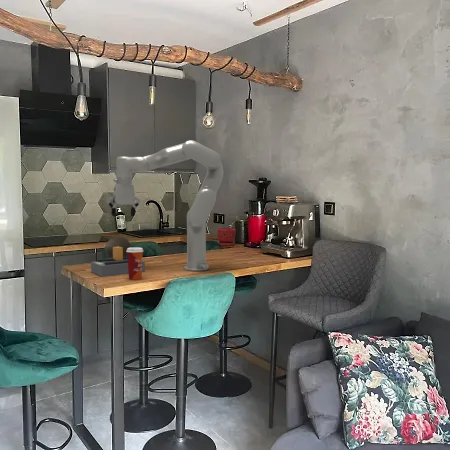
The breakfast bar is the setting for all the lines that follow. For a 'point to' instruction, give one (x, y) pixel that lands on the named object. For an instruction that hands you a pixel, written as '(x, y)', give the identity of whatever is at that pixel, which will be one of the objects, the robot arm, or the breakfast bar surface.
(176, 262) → the breakfast bar surface
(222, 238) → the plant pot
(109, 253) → the cantaloupe
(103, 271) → the grey open box
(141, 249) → the paper cup
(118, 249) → the lever
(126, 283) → the breakfast bar surface
